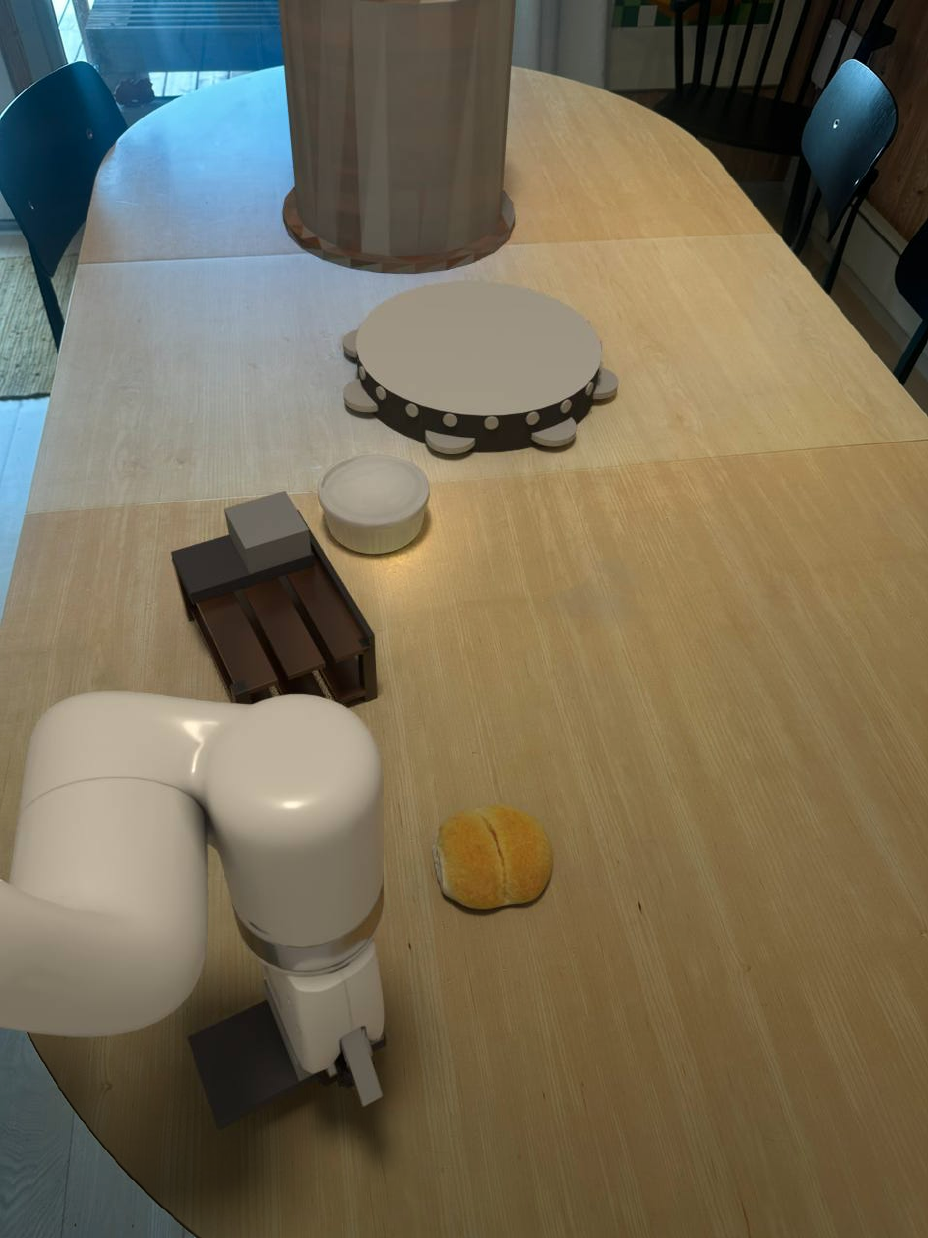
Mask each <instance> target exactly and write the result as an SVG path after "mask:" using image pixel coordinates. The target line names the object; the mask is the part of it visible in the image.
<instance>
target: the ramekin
mask: <svg viewBox="0 0 928 1238" xmlns="http://www.w3.org/2000/svg"><path fill="white" fill-rule="evenodd" d="M318 480H319V481H318V483H317V499H318V502H319V505H320V507H321V509H322V511H323V513H324V514H323V515H324V519H325V521H326V525H327V528H328V530H329V532H330V534H331V535H332V536H333V538H334V539H335V540H336V541H337V542H339V544H341V545H342V546H343V547H345V548H347V549H349V550H351V551H354V552H356V553H361V554H366V555H381V554H388V553H389V554H390V553H392V552H396V551H398V550H400V549H403V548H404V547H405V546H407V545H409V544H410V543H412V541H413V540H414V539H415V538H416V537H417V536H418V534H419V533H420V531H421V529H422V527H423V523H424V517H425V512H426V507H427V506H428V503H429V501H430V495H431V489H430V483H429V479H428V477H427V475H426V473H425V472H424V471H423V470H422V469H421V468H420V467H419V465H417V464H416V463H415V462H413V461H411V460H409V459H407V458H405V457H402V456H400V455H396V454H392V453H386V452H364V453H358V454H353V455H350V456H347V457H344V458H342V459H340V460H338V461H336V462H334V463H333V464H332V465H330V466H329V467H327V469H326V470H325V471H324V472H323V473H322V475H321V476H320V477H319V479H318Z"/></svg>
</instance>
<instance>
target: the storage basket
mask: <svg viewBox="0 0 928 1238" xmlns="http://www.w3.org/2000/svg"><path fill="white" fill-rule="evenodd" d="M277 6H278V15H279V26H280V37H281V47H282V48H281V49H282V58H283V60H282V61H283V70H284V71H283V72H284V82H285V93H286V105H287V115H288V127H289V137H290V138H289V139H290V149H291V159H292V171H293V181H294V182H293V183H294V186H293V187H292V188H291V190H290V191H289V192H288V193H287V194H286V196H285V197H284V200H283V205H282V209H281V214H282V215H281V216H282V222H283V224H284V227H285V229H286V232H287V235H288V236H289V237H290V238H291V239H292V240H293V241H294V242H295V243H296V244H297V245H298V246H299V247H300V248H301V249H302V250H305V251H307V252H309V253H310V254H312V255H314V256H316V257H317V258H320V259H322V260H324V261H327V262H330V263H333V264H337V265H340V266H342V267H346V268H349V269H355V270H362V271H366V272H367V271H368V272H374V273H380V274H421V273H431V272H439V271H447V270H452V269H455V268H458V267H462V266H466V265H469V264H474V263H476V262H478V261H480V260H482V259H484V258H486V257H488V256H490V255H492V254H494V253H496V252H497V251H498V250H499V249H501V247H502V246H503V245H505V244H506V243H507V242H508V241H509V240H510V238H511V236H512V234H513V231H514V229H515V227H516V216H517V215H516V211H515V203H514V202H513V200H512V199H511V198H510V196H509V195H508V193H507V192H506V191H505V190H504V182H505V170H506V169H505V168H506V167H505V166H506V154H507V153H506V152H507V140H508V139H507V137H508V125H509V109H510V107H509V106H510V97H511V96H510V93H511V80H512V79H511V78H512V65H513V49H514V38H515V37H514V36H515V21H516V6H517V0H277Z"/></svg>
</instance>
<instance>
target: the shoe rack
mask: <svg viewBox="0 0 928 1238" xmlns="http://www.w3.org/2000/svg"><path fill="white" fill-rule="evenodd" d="M297 511H298V513H299V514H300V516H301V517H302V519H303V521H304V522H305V524H306V526H307V527H308V529H309V536H310V546H311V551H312V552H313V554H314V562H315V566H312V567H309V568H305V569H302V570H299V571H296V572H293V573H290V574H287V575H284V576H281V577H278V578H275V579H271V580H268V581H265V582H262V583H259V584H256V585H253V586H250V587H247V588H244V589H240V590H237V591H234V592H231V593H228V594H225V595H222V596H219V597H216V598H213V599H210V600H206V601H203V602H200V603H197V604H194V605H193V604H192V602H191V600H190V598H189V596H188V593H187V591H186V589H185V587H184V585H183V583H182V580H181V578H180V576H179V574H178V572H177V570H176V567H175V565H174V563H173V559H172V558H171V563H172V566H173V570H174V575H175V578H176V582H177V585H178V589H179V594H180V598H181V601H182V606H183V610H184V613H185V615H186V618H187V620H188V621H189V622H191V621H194V622H195V624H196V626H197V629H198V630H199V632H200V634H201V637H202V639H203V641H204V642H205V645H206V647H207V650H208V652H209V654H210V656H211V659H212V661H213V663H214V665H215V667H216V669H217V672H218V674H219V676H220V679H221V681H222V683H223V685H224V687H225V689H226V691H227V694H228V696H229V698H230V700H231V703H237V704H255V703H257V702H260V701H262V700H265V699H269V698H272V697H274V695H273V694H272V691H271V690H270V688H272V687H274V686H276V687H277V689H278V691H279V693H280V696H282V695H289V694H307V695H314V696H319V697H323V698H326V699H328V697H327V696H326V695H325V693H324V691H323V689H322V687H321V685H320V683H319V682H318V679H317V678H316V676H315V674H314V673H313V672H316V671H318V670H319V671H320V673H321V674H322V677H323V678H324V680H325V681H326V684H327V685H328V687H329V689H330V691H331V693H332V695H333V696H334V698H335V700H336V702H337V703H339V704H341V705H343V704H346V703H348V702H350V701H353V700H356V699H359V698H361V697H362V699H363V700H364V702H365V703H367V702H369V701H373V700H375V699H377V698H378V695H379V694H378V678H377V677H378V676H377V675H378V674H377V656H376V655H377V654H376V652H377V651H376V635H375V632H374V631H373V629H372V628H371V626H370V625H369V622H368V621H367V619H366V617H365V616H364V615H363V613H362V611H361V609H360V608H359V606H358V605H357V603H356V602H355V600H354V598H353V596H352V595H351V593H350V592H349V590H348V589H347V587H346V585H345V584H344V582H343V580H342V578H341V577H340V576H339V574H338V572H337V571H336V569H335V567H334V565H333V564H332V562H331V561H330V559H329V557H328V555H327V554H326V553H325V551H324V549H323V548H322V546H321V545H320V543H319V541H318V539H317V538H316V536H315V535H314V533H313V531H312V530H311V528H310V527H309V525H308V523H307V521H306V520H305V518H304V517H303V515H302V513H301V512H300V510H299V509H297ZM356 657H357V658H356Z"/></svg>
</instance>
